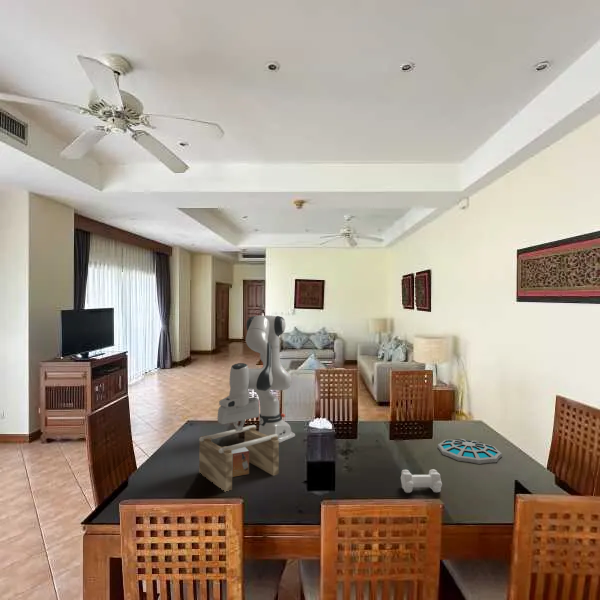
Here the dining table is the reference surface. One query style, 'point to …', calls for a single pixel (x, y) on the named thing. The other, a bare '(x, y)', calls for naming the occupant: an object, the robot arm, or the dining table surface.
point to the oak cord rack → (220, 464)
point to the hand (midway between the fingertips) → (239, 430)
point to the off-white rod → (247, 443)
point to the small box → (240, 462)
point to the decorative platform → (469, 451)
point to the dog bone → (421, 481)
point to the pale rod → (225, 433)
